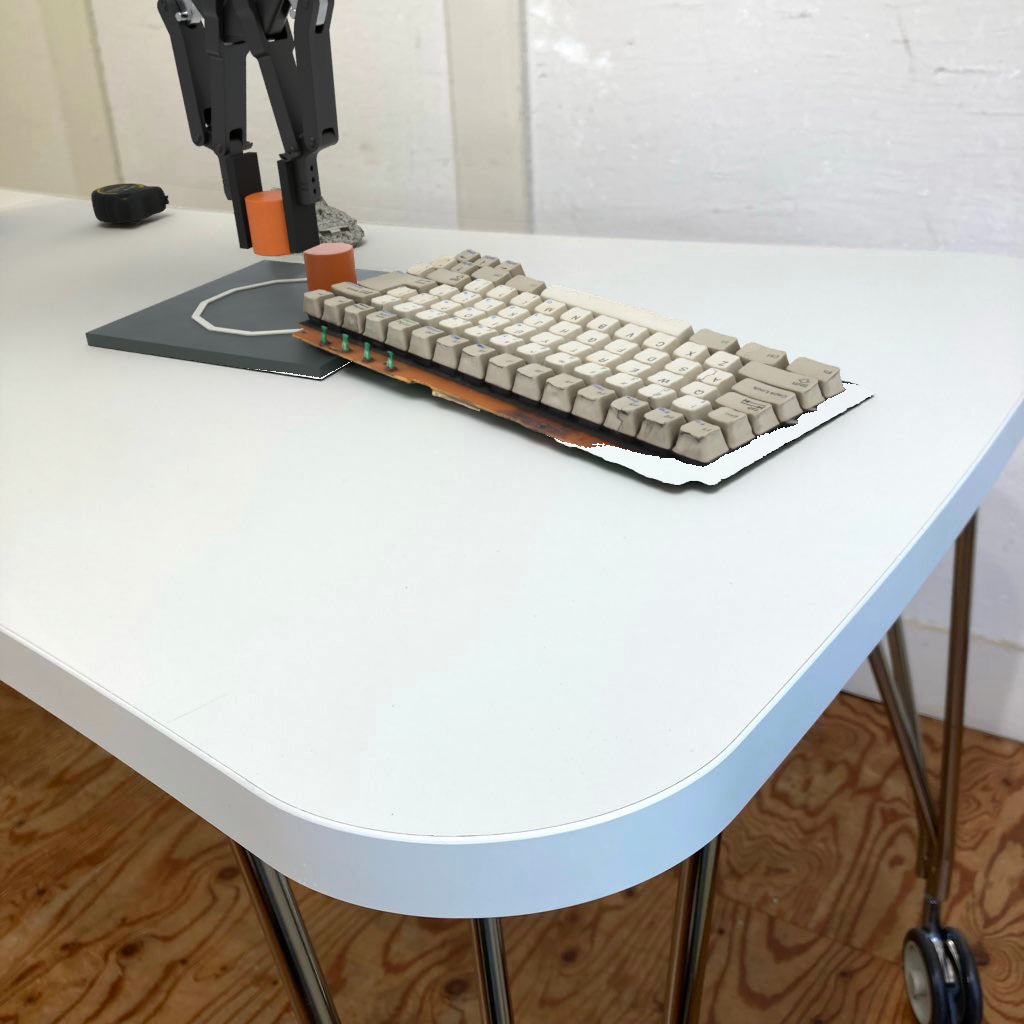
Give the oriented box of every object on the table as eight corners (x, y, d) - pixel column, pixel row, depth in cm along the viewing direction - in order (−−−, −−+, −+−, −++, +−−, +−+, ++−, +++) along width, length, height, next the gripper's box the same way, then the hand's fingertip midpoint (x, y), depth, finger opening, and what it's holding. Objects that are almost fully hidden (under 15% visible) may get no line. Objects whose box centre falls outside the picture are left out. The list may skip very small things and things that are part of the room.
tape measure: (130, 231, 116) (123, 196, 114) (83, 227, 119) (75, 192, 117) (172, 216, 122) (166, 183, 120) (126, 213, 124) (119, 180, 122)
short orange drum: (299, 301, 86) (292, 252, 84) (328, 288, 89) (322, 240, 88) (340, 306, 85) (334, 256, 83) (368, 292, 88) (362, 244, 86)
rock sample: (333, 220, 99) (293, 148, 101) (280, 272, 102) (242, 201, 104) (397, 243, 108) (359, 177, 110) (346, 290, 111) (310, 225, 113)
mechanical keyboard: (875, 395, 67) (882, 343, 65) (696, 505, 55) (700, 445, 53) (461, 281, 90) (459, 241, 88) (273, 341, 78) (267, 296, 76)
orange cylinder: (242, 254, 79) (233, 199, 77) (275, 241, 82) (267, 188, 80) (285, 258, 77) (277, 202, 75) (318, 244, 80) (310, 190, 79)
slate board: (87, 345, 82) (84, 331, 82) (265, 270, 99) (263, 258, 99) (321, 380, 73) (319, 365, 73) (472, 291, 90) (471, 278, 90)
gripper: (367, -124, 68) (403, 242, 79) (165, -106, 75) (224, 227, 86) (297, -127, 62) (345, 268, 73) (85, -108, 69) (158, 251, 80)
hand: (280, 245), depth 80 cm, fingers closed on orange cylinder, 4 cm apart
